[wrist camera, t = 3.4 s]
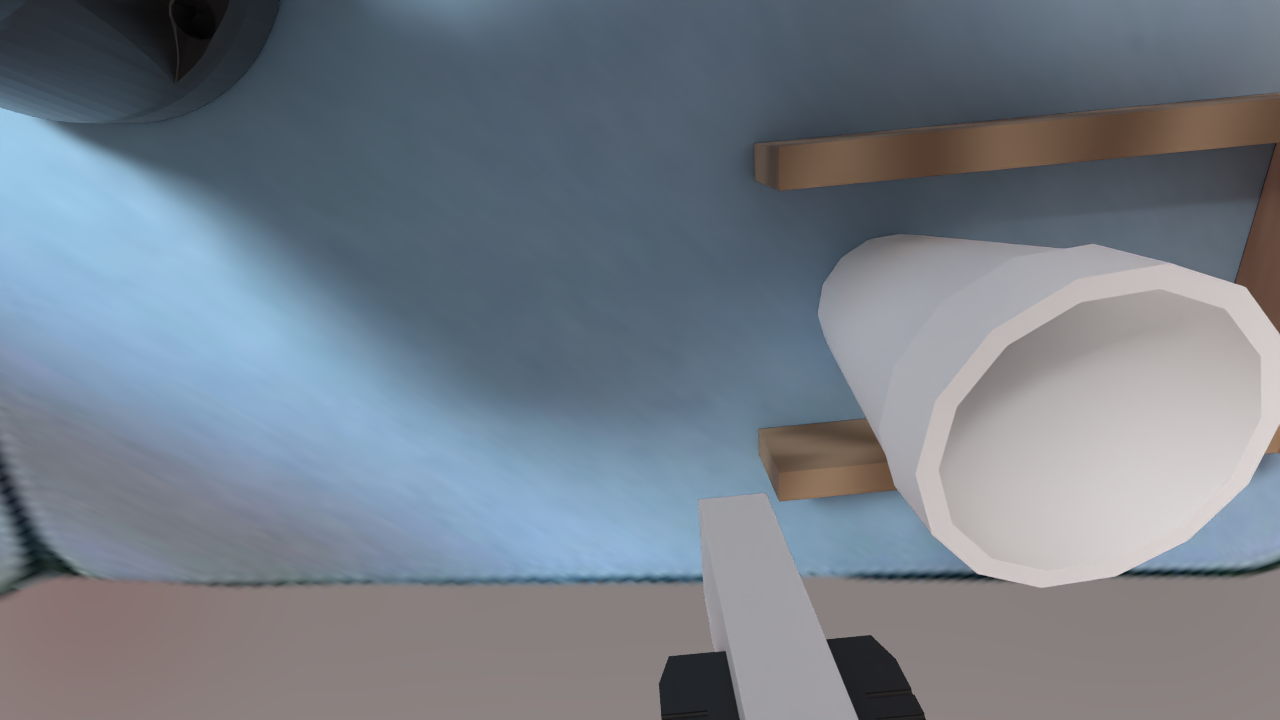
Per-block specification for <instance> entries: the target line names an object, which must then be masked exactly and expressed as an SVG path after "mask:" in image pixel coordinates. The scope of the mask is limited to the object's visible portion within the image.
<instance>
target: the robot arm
mask: <svg viewBox="0 0 1280 720" xmlns="http://www.w3.org/2000/svg"><path fill="white" fill-rule="evenodd" d="M279 3H280V0H0V107H1V108H4V109H7V110H10V111H14V112H18V113H22V114H26V115H30V116H34V117H39V118H44V119H50V120H56V121H63V122H73V123H128V124H132V123H148V122H155V121H161V120H166V119H170V118H174V117H177V116H180V115H183V114H187V113H189V112H191V111H194V110H196V109H198V108H200V107H202V106H204V105H206V104H208V103H209V102H211V101H213V100H214V99H216V98H217V97H219V96H220V95H222V94H223V93H224V92H225V91H227V90H228V89H229V88H230V87H231V86H233V85H234V84H235V83H236V82H237V81H238V80H239V79H240V77H241V76H242V75H243V74H244V73H245V72H246V71H247V69H248V68H249V67H250V66H251V64H252V63H253V61H254V60H255V58H256V57H257V55H258V54H259V52H260V51H261V49H262V47H263V45H264V43H265V42H266V40H267V37H268V35H269V33H270V30H271V28H272V26H273V23H274V20H275V17H276V14H277V11H278V7H279ZM698 506H699V521H700V537H701V553H702V569H703V584H704V598H705V603H706V608H707V614H708V619H709V625H710V630H711V636H712V641H713V646H714V652H710V653H699V654H689V655H678V656H669V658H668V660H667V663H666V666H665V669H664V672H663V674H662V677H661V680H660V682H659V690H660V704H661V717H662V720H926V719H925V716H924V712H923V710H922V708H921V706H920V704H919V703H918V701H917V699H916V697H915V695H913V694H912V691H911V687H910V685H909V683H908V682H907V680H906V678H905V676H904V674H903V672H902V670H901V668H900V666H899V664H898V662H897V661H896V659H895V658H894V657H893V656H892V655H891V654H890V653H889V652H888V651H887V650H885V648H884V647H882V646H881V645H880V644H879V643H878V642H877V641H876V640H875V639H874V638H873V637H872V636H871V635H868V636H857V637H847V638H836V639H825V636H824V634H823V631H822V629H821V627H820V624H819V621H818V619H817V617H816V614H815V612H814V609H813V607H812V604H811V602H810V599H809V597H808V594H807V592H806V590H805V587H804V585H803V582H802V580H801V577H800V575H799V572H798V570H797V567H796V565H795V562H794V560H793V558H792V555H791V553H790V550H789V548H788V545H787V543H786V540H785V538H784V535H783V533H782V531H781V528H780V526H779V523H778V521H777V518H776V516H775V513H774V511H773V508H772V506H771V503H770V501H769V499H768V496H767V494H766V493H759V494H749V495H739V496H728V497H718V498H708V499H698Z"/></svg>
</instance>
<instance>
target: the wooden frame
mask: <svg viewBox="0 0 1280 720" xmlns="http://www.w3.org/2000/svg"><path fill="white" fill-rule="evenodd" d="M1268 143H1277V144H1276V147H1275V150H1274V154H1273V157H1272V160H1271V164H1270V167H1269V170H1268V174H1267V177H1266V180H1265V184H1264V187H1263V190H1262V194H1261V197H1260V201H1259V204H1258V207H1257V211H1256V214H1255V217H1254V221H1253V224H1252V227H1251V231H1250V234H1249V237H1248V241H1247V244H1246V247H1245V251H1244V254H1243V257H1242V261H1241V264H1240V268H1239V271H1238V274H1237V278H1236V281H1235V284H1238V285H1241V286H1244V287H1246V288H1247V289H1248V291H1249V292H1250V294H1251V295H1252V296H1253V298H1254V299H1255V300H1256V302H1257V303H1258V305H1259V306H1260V307H1261V309H1262V310H1263V312H1264V313H1265V314H1266V316H1267V317H1268V319H1269V320H1270V321H1271V323H1272V324H1273V326H1274V327H1275V328H1276V330H1277V331H1278V333H1279V334H1280V93H1270V94H1260V95H1250V96H1239V97H1229V98H1219V99H1208V100H1198V101H1188V102H1177V103H1167V104H1157V105H1146V106H1136V107H1126V108H1115V109H1105V110H1095V111H1084V112H1074V113H1064V114H1053V115H1043V116H1033V117H1022V118H1012V119H1002V120H991V121H981V122H971V123H960V124H950V125H940V126H929V127H919V128H909V129H898V130H888V131H878V132H867V133H857V134H847V135H836V136H826V137H816V138H805V139H795V140H784V141H774V142H764V143H754V160H755V181H756V182H759V183H761V184H764V185H766V186H768V187H771V188H773V189H776V190H778V191H783V190H793V189H804V188H814V187H824V186H835V185H845V184H855V183H866V182H876V181H886V180H896V179H907V178H917V177H927V176H938V175H948V174H958V173H969V172H979V171H989V170H1000V169H1010V168H1020V167H1031V166H1041V165H1051V164H1062V163H1072V162H1082V161H1093V160H1103V159H1113V158H1124V157H1134V156H1144V155H1154V154H1165V153H1175V152H1185V151H1196V150H1206V149H1216V148H1227V147H1237V146H1247V145H1258V144H1268ZM1268 453H1280V424H1279V426H1278V428H1277V430H1276V432H1275V434H1274V436H1273V438H1272V440H1271V442H1270V444H1269V446H1268V448H1267V449H1266V451H1265V453H1264V454H1268ZM759 456H760V458H761V460H762V463H763V465H764V467H765V470H766V472H767V474H768V477H769V479H770V481H771V484H772V486H773V488H774V491H775V493H776V495H777V497H778V500H779V501H788V500H799V499H809V498H819V497H829V496H839V495H850V494H860V493H870V492H880V491H891V490H897V488H896V487H895V486H894V482H893V479H892V475H891V472H890V469H889V465H888V462H887V458H886V455H885V453H884V451H883V449H882V447H881V445H880V443H879V441H878V439H877V438H876V436H875V434H874V432H873V430H872V428H871V426H870V424H869V422H868V420H867V419H856V420H845V421H835V422H825V423H815V424H804V425H794V426H784V427H774V428H763V429H759Z"/></svg>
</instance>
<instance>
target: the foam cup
mask: <svg viewBox="0 0 1280 720" xmlns="http://www.w3.org/2000/svg"><path fill="white" fill-rule="evenodd" d="M818 317H819V321H820V324H821V327H822V330H823V333H824V337H825V340H826V341H827V343H828V347H829V348H830V350H831V352H832V354H833V356H834V358H835V360H836V362H837V364H838V366H839V367H840V369H841V371H842V373H843V375H844V377H845V379H846V381H847V383H848V384H849V386H850V388H851V390H852V392H853V394H854V396H855V398H856V400H857V402H858V403H859V405H860V407H861V409H862V411H863V413H864V415H865V417H866V419H867V420H868V422H869V424H870V426H871V428H872V430H873V432H874V434H875V436H876V438H877V439H878V441H879V443H880V445H881V447H882V449H883V451H884V453H885V455H886V458H887V462H888V465H889V469H890V472H891V475H892V479H893V482H894V486H895V487H896V488H897V490H898V491H899V492H900V494H901V495H902V496H903V497H904V499H905V500H906V501H907V503H908V504H909V505H910V507H911V508H912V509H913V510H914V512H915V513H916V514H917V516H918V517H919V518H920V520H921V521H922V522H923V523H924V525H925V526H926V527H927V529H928V530H929V531H930V533H931V534H932V535H933V536H934V537H935V538H937V539H938V540H939V541H940V542H941V543H942V544H944V545H945V546H946V547H947V548H948V549H949V550H950V551H952V552H953V553H954V554H955V555H956V556H957V557H959V558H960V559H961V560H962V561H963V562H964V563H965V564H967V565H968V566H969V567H970V568H971V569H972V570H974V571H975V572H976V573H977V574H981V575H985V576H990V577H994V578H999V579H1003V580H1008V581H1012V582H1017V583H1022V584H1026V585H1031V586H1035V587H1040V588H1044V587H1050V586H1057V585H1064V584H1070V583H1077V582H1083V581H1089V580H1096V579H1102V578H1108V577H1115V576H1117V575H1119V574H1121V573H1123V572H1125V571H1127V570H1129V569H1131V568H1133V567H1135V566H1137V565H1140V564H1142V563H1144V562H1146V561H1148V560H1150V559H1152V558H1154V557H1156V556H1158V555H1160V554H1162V553H1164V552H1166V551H1168V550H1170V549H1172V548H1174V547H1176V546H1178V545H1180V544H1182V543H1184V542H1186V541H1188V540H1189V539H1190V538H1191V537H1192V536H1193V535H1194V534H1196V533H1197V532H1198V531H1199V530H1200V529H1201V528H1202V527H1203V526H1204V525H1205V524H1206V523H1207V522H1208V521H1209V520H1211V519H1212V518H1213V517H1214V516H1215V515H1216V514H1217V513H1218V512H1219V511H1220V510H1221V509H1222V508H1223V507H1224V506H1225V505H1227V504H1228V503H1229V502H1230V501H1231V500H1232V499H1233V498H1234V497H1235V496H1236V495H1237V494H1238V493H1239V492H1240V491H1242V490H1243V489H1244V488H1245V487H1246V486H1247V485H1248V484H1249V482H1250V480H1251V478H1252V476H1253V475H1254V473H1255V471H1256V469H1257V467H1258V465H1259V463H1260V461H1261V459H1262V457H1263V455H1264V453H1265V451H1266V449H1267V448H1268V446H1269V444H1270V442H1271V440H1272V438H1273V436H1274V434H1275V432H1276V430H1277V428H1278V426H1279V424H1280V334H1279V333H1278V331H1277V330H1276V328H1275V327H1274V326H1273V324H1272V323H1271V321H1270V320H1269V319H1268V317H1267V316H1266V314H1265V313H1264V312H1263V310H1262V309H1261V307H1260V306H1259V305H1258V303H1257V302H1256V300H1255V299H1254V298H1253V296H1252V295H1251V294H1250V292H1249V291H1248V289H1247V288H1246V287H1244V286H1241V285H1238V284H1234V283H1231V282H1228V281H1225V280H1222V279H1219V278H1216V277H1212V276H1209V275H1206V274H1203V273H1200V272H1197V271H1194V270H1190V269H1187V268H1184V267H1181V266H1178V265H1175V264H1172V263H1168V262H1164V261H1160V260H1156V259H1152V258H1148V257H1144V256H1140V255H1136V254H1132V253H1128V252H1124V251H1120V250H1116V249H1113V248H1109V247H1105V246H1101V245H1097V244H1089V245H1083V246H1077V247H1071V248H1066V249H1063V248H1053V247H1042V246H1031V245H1021V244H1010V243H999V242H989V241H978V240H967V239H957V238H946V237H935V236H924V235H914V234H905V235H903V234H896V235H890V236H884V237H878V238H873V239H868V240H867V241H865V242H864V243H862V244H861V245H859V246H858V247H856V248H855V249H853V250H852V251H850V252H849V253H847V254H846V255H844V256H843V257H841V258H840V260H839V261H838V263H837V264H836V266H835V267H834V269H833V270H832V272H831V273H830V275H829V276H828V278H827V279H826V280H825V282H824V283H823V286H822V291H821V297H820V303H819V308H818Z"/></svg>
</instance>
